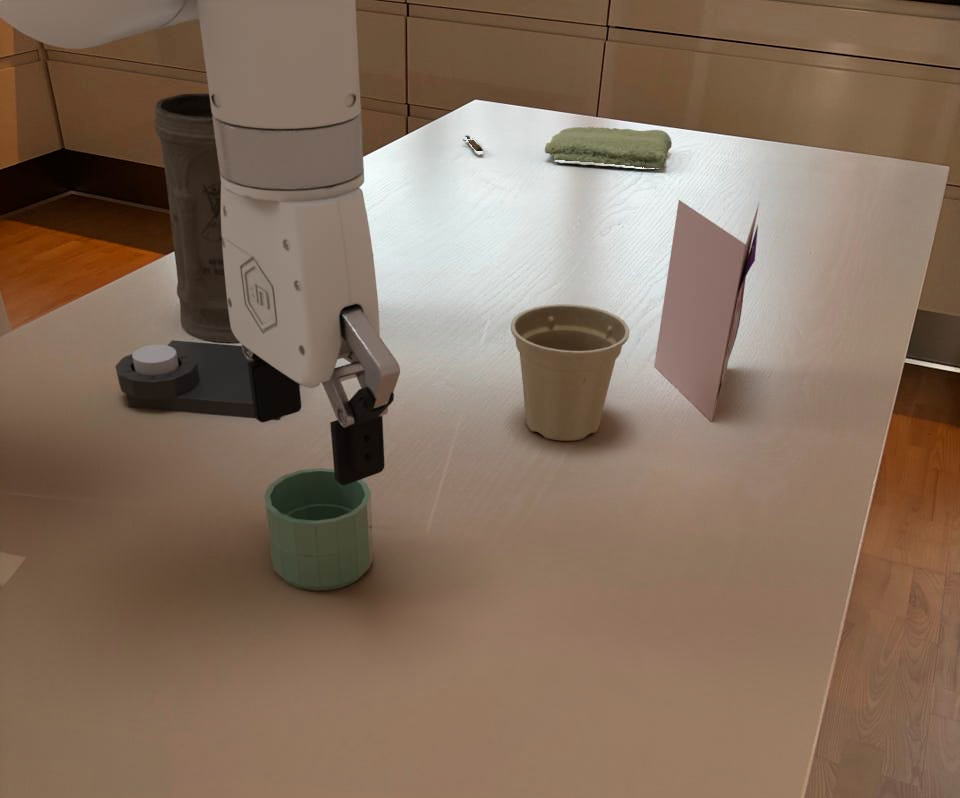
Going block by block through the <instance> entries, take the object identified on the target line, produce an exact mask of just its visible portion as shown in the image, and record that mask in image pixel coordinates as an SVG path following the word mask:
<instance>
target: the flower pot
mask: <svg viewBox="0 0 960 798" xmlns="http://www.w3.org/2000/svg"><path fill="white" fill-rule="evenodd" d="M510 331H511V334H512V337H514V338H515V339H514V340H515V347H516V348H517V351H518V352H519V360H520V367H521V368H520V370H521V379H522V391H523V399H524V400H523V402H524V415H525V423H526V426H527V427H528V429H529V430H530V431H531V432H532V433H535V432H538V433H539V434H540V435H542V436H543V437H544V438H545V439H548V440H552V441H553V440H554V441H561V442H562V441H564V442H565V441H567V442H569V441H580V440H583V439H584V438H586V437H587V436H588V435H590V434H595V433H596V432H597V431H598V430H599V427H600V424H601V419H602V414H603V411H604V406H605V402H606V400H607V395H608V392H609V387H610V383H611V380H612V376H613V371H614V367H615V363H616V360H617V359H618V358H619V356H620V354H621V352H622V349H623V345H625V343H627V341H628V339H629V337H630V328H629V325H627V323H626V322H625V321H624V320H623V319H622V318H621V317H619V315H616V314H613V313H612V312H609V311H607V310H604V309H600V308H597V307H593V306H589V305H581V304H570V303H569V304H568V303H566V304H565V303H564V304H561V303H559V304H557V303H556V304H545V305H540V306H535V307H532V308H529V309H526V310H523V311H521V312H519V313H517V314H516V315H515V316H514V317H513V318H512V320H511V322H510Z"/></svg>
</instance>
